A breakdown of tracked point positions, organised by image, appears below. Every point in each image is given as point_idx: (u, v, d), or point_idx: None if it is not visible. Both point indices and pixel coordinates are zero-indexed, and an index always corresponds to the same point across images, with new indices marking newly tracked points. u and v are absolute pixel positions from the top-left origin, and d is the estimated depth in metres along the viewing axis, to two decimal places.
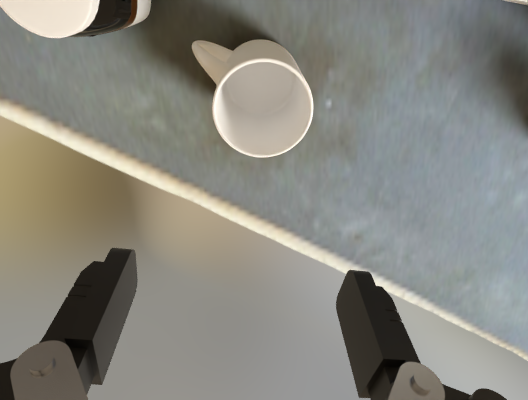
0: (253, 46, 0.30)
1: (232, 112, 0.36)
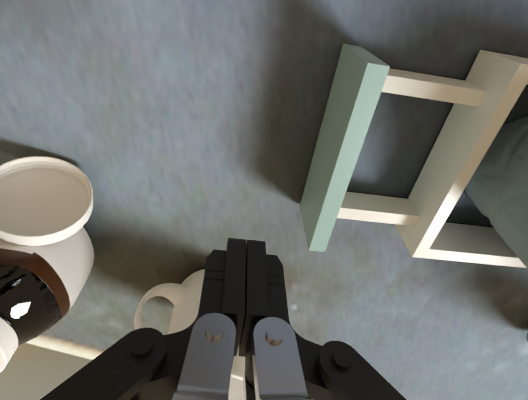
0: None
1: None
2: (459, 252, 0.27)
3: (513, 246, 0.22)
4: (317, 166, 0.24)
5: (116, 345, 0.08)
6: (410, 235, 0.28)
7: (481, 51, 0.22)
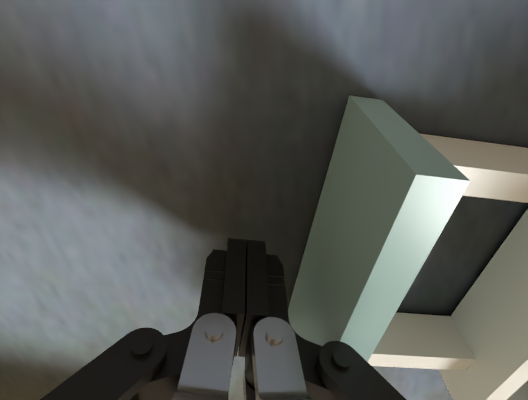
0: None
1: None
2: None
3: None
4: (306, 296, 0.14)
5: (116, 345, 0.08)
6: (457, 380, 0.17)
7: None
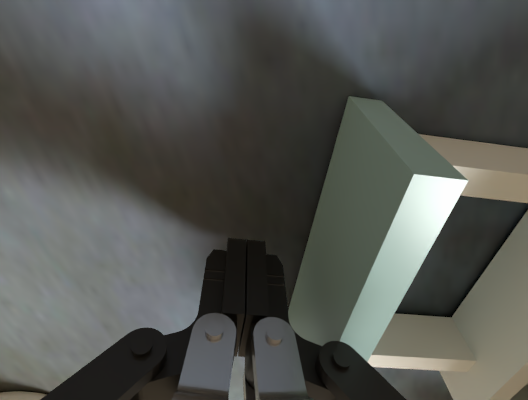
0: None
1: None
2: None
3: None
4: (306, 296, 0.14)
5: (116, 345, 0.08)
6: (458, 382, 0.17)
7: None
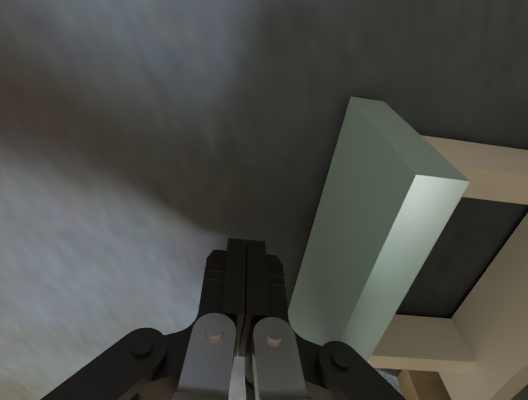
0: None
1: None
2: None
3: None
4: (306, 296, 0.14)
5: (116, 345, 0.08)
6: (457, 383, 0.17)
7: None
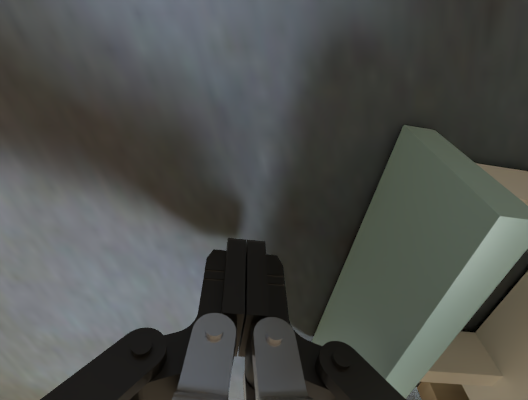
0: None
1: None
2: None
3: None
4: (347, 313, 0.15)
5: (116, 345, 0.08)
6: (482, 395, 0.18)
7: None
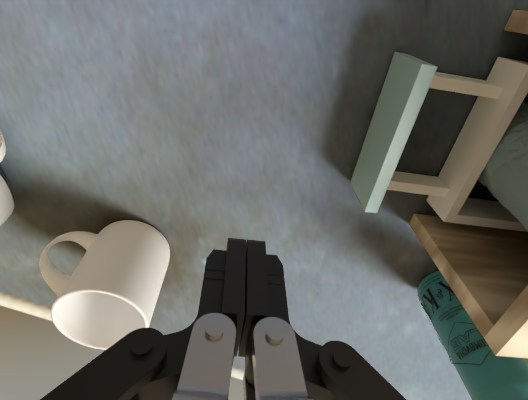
0: (104, 247, 0.33)
1: None
2: (481, 218, 0.33)
3: (505, 203, 0.29)
4: (370, 146, 0.31)
5: (116, 345, 0.08)
6: (441, 205, 0.34)
7: (498, 58, 0.29)
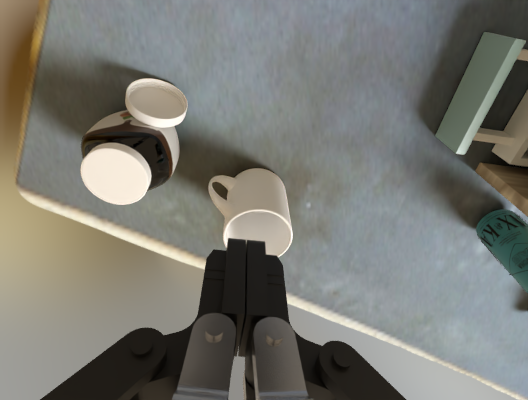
0: (251, 184, 0.43)
1: (236, 218, 0.48)
2: None
3: None
4: (459, 104, 0.41)
5: (116, 345, 0.08)
6: (506, 152, 0.44)
7: None
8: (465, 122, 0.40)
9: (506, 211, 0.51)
